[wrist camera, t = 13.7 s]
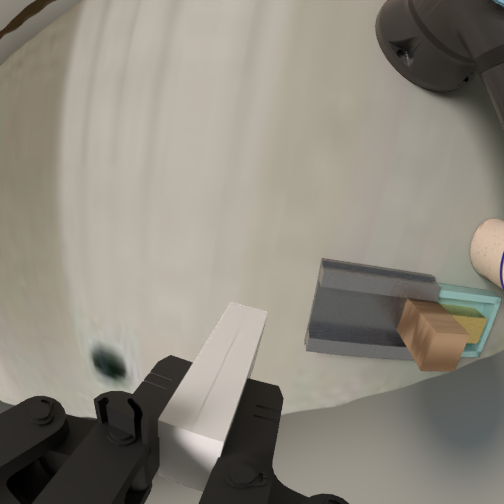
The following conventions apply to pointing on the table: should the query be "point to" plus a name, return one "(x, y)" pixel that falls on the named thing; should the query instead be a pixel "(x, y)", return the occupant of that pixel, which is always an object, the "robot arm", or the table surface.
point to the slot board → (363, 309)
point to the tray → (477, 299)
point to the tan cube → (456, 313)
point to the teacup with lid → (489, 251)
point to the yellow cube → (473, 323)
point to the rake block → (432, 335)
